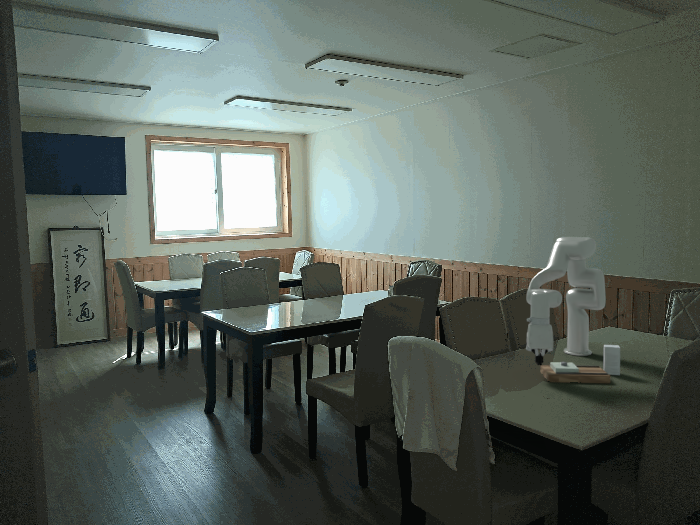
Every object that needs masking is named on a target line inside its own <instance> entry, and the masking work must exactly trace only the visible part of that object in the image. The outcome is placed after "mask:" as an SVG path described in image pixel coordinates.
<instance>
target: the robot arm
mask: <svg viewBox="0 0 700 525" xmlns="http://www.w3.org/2000/svg"><path fill="white" fill-rule="evenodd" d="M596 250H597V242H596V240H595V239H594V237H593V238H592V237H589V236H584V237H583V236H560V237H558V238H557V239H555V243H554V244H553V246H552V247H551V251H550V254H549V256H548V257H549V258H548V260H547V264H546V267H545V268H543V269H542V270H540V271H539V272H538V273H537V274H536V275H535V276H534V277H533V278H532V279H531V280H530V282H529V286H528V289H527V291H526V298H525V299H526V303H528V304H529V305H530V316H529V317H527V318H526V322H529V323H528V327H527V332H526V340H525V341H526V346H525V350H526V351H528V352H532V353H533V354H534V362H535V363H536V365H537V366H540V365H543V363H544V356H545V355H546V354H547V353H548V352H549V353H550V352H553V351H554V332H553V327H552V324H550V323H551V322H550V320H551V318H550V317H551V316H550V314H551V313H550V309H552V308H553V309H555V308H558V307H560V305H561V304H562V303H563V295H562V293H561V292H560V290H556V289H549V288H548V289H547V288H541V286H543V285H544V284H547V283H549V282H552V281H555V280H558V279H560V278H563V277H565V276H566V273H567V283H568V284H569V286H571V287H573V288H571V289H569V290H567V291H566V294H565V300H566V301H565V302H566V307H567V309H566V310H567V338H566V339H567V344H566V347H565V348H564V349H563V352H564V353H565V354H567V355H569V356H570V355H571V356H577V357H580V356H581V357H584V356H585V357H586V356H591V355H592V353H593V352H592V350H591V349H589V335H590V332H589V330H590V329H589V328H590V317H589V315H588V313H587V311H586V310H593V311H594V310H595V311H600V310H603V309H604V308H605V307H606V301H607V300H606V299H607V298H606V296H607V295H606V284H605V274H604V272H603V271H602V270H601V269H600V268H593V267H587V262H586V259H589V258H590V257H592V256H594V254H595V253H596ZM539 350H540V351H539Z"/></svg>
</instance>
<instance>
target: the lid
mask: <svg viewBox="0 0 700 525" xmlns="http://www.w3.org/2000/svg"><path fill="white" fill-rule="evenodd" d="M549 365H550V367H551V368H552V369H553V371H554V372H555V373H556V372H579V368H577V367H576V366H575V365H576V364H575V363H574V362H567V361H560V362H557V361H556V362H554V361H551V362H550V364H549Z"/></svg>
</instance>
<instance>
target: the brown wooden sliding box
mask: <svg viewBox="0 0 700 525" xmlns="http://www.w3.org/2000/svg"><path fill="white" fill-rule="evenodd" d="M574 365H575V366H576V367H577V368H579V372H556V373H555V372H554V371H553V369H552V368H551V367H550V364H542V365H539V366H540V369H539V371H540V374H541V375H542V374H543V375H542V376H543V377H544V378H546V379H547V380H546V379H545V380H546V381H547V382H548V381H550V382H549V383H570V382H578V383H579V384H580V382H581V384H582V383H583V384H611V377H612V375H609V374H608V373H606V372H605V371H604V370H603V368H601V367H600V365H582V364H581V365H578V364H577V365H576V364H574Z"/></svg>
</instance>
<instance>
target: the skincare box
mask: <svg viewBox="0 0 700 525" xmlns="http://www.w3.org/2000/svg"><path fill="white" fill-rule="evenodd" d="M602 369H603V370H604V371H605V372H606V373H608V374H609V375H610V376H621V347H620V345H618V344H615V345H614V344H603V368H602Z"/></svg>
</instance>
